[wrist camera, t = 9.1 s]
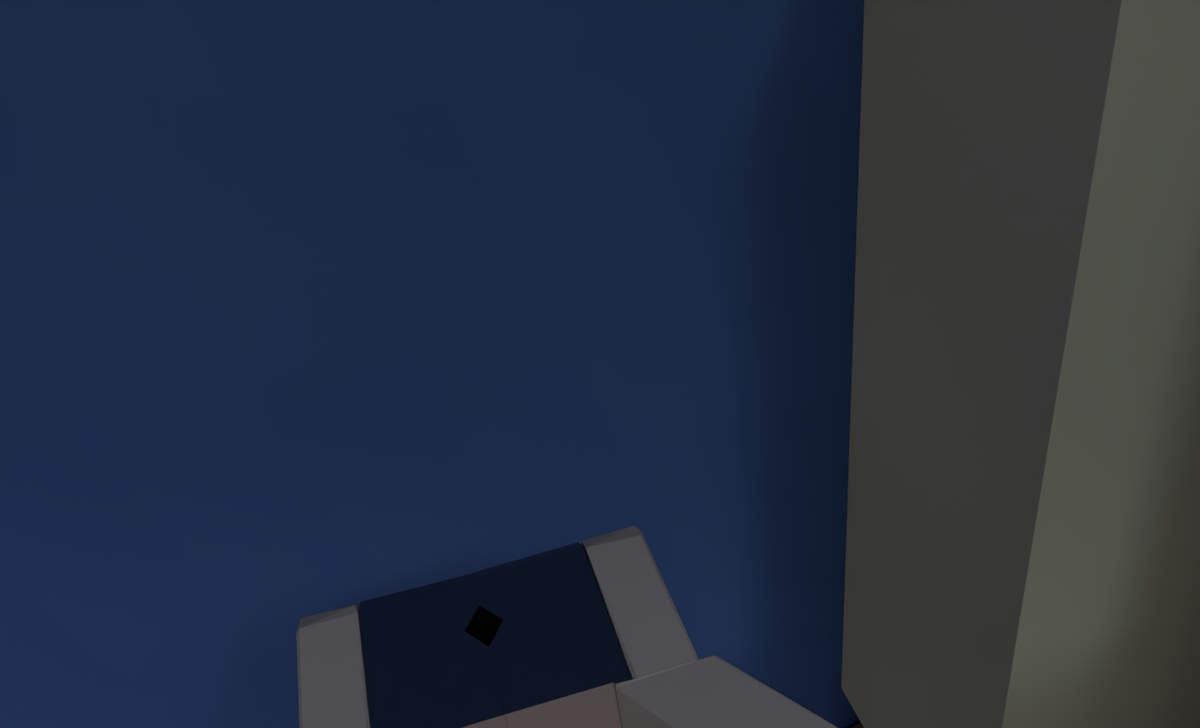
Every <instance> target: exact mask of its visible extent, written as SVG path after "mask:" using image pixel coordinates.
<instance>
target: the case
mask: <svg viewBox="0 0 1200 728" xmlns="http://www.w3.org/2000/svg"><path fill="white" fill-rule="evenodd" d="M841 688H842V690H843V692H844V694H845V695H846V697H847V699H848V701H849V702H850V704H851V706H852V708H853V709H854V711H855V713H856V715H857V716H858V718H859V720H860V722H861V723H862V725H863V727H864V728H1200V0H864V25H863V55H862V85H861V115H860V145H859V175H858V205H857V235H856V265H855V294H854V324H853V354H852V384H851V414H850V444H849V474H848V504H847V534H846V563H845V593H844V623H843V653H842V683H841Z"/></svg>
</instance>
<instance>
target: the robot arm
mask: <svg viewBox="0 0 1200 728" xmlns="http://www.w3.org/2000/svg"><path fill="white" fill-rule="evenodd" d="M296 636H297V667H298V698H299V728H838V727H836V726H834V725H833V724H831V723H829V722H828V721H826V720H824V719H822V718H821V717H819V716H817V715H816V714H814V713H812V712H811V711H809V710H807V709H806V708H804V707H802V706H801V705H799V704H797V703H795V702H794V701H792V700H790V699H789V698H787V697H785V696H784V695H782V694H780V693H779V692H777V691H775V690H774V689H772V688H770V687H769V686H767V685H765V684H763V683H762V682H760V681H758V680H757V679H755V678H753V677H752V676H750V675H748V674H747V673H745V672H743V671H742V670H740V669H738V668H736V667H735V666H733V665H731V664H730V663H728V662H726V661H725V660H723V659H721V658H720V657H718V656H716V655H714V656H710V657H707V658H703V659H698V657H697V654H696V652H695V650H694V648H693V645H692V643H691V641H690V639H689V637H688V634H687V632H686V630H685V628H684V625H683V623H682V621H681V619H680V616H679V614H678V612H677V610H676V608H675V605H674V603H673V601H672V599H671V596H670V594H669V592H668V590H667V588H666V585H665V583H664V581H663V579H662V576H661V574H660V572H659V570H658V567H657V565H656V563H655V561H654V559H653V556H652V554H651V552H650V550H649V547H648V545H647V543H646V541H645V538H644V536H643V534H642V532H641V531H640V530H639V529H638V528H637V527H635V526H630V527H627V528H623V529H620V530H616V531H613V532H610V533H606V534H603V535H599V536H596V537H593V538H589V539H586V540H582V541H581V544H580V543H579V542H577V543H574V544H570V545H567V546H563V547H560V548H556V549H553V550H549V551H546V552H542V553H539V554H536V555H532V556H529V557H525V558H522V559H518V560H515V561H511V562H508V563H504V564H501V565H497V566H494V567H490V568H487V569H484V570H480V571H477V572H473V573H472V574H468V575H464V576H460V577H456V578H452V579H448V580H444V581H440V582H436V583H432V584H428V585H425V586H421V587H417V588H413V589H409V590H405V591H401V592H397V593H393V594H389V595H385V596H381V597H377V598H373V599H369V600H366V601H362V602H360V604H356V605H352V606H348V607H344V608H340V609H336V610H332V611H328V612H324V613H320V614H315V615H311V616H307V617H303V618H301V619H300V623H299V626H298V630H297V633H296Z"/></svg>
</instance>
